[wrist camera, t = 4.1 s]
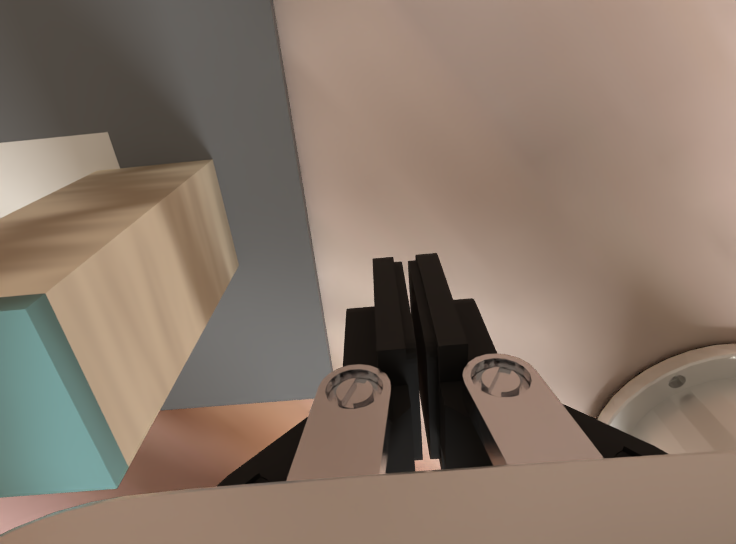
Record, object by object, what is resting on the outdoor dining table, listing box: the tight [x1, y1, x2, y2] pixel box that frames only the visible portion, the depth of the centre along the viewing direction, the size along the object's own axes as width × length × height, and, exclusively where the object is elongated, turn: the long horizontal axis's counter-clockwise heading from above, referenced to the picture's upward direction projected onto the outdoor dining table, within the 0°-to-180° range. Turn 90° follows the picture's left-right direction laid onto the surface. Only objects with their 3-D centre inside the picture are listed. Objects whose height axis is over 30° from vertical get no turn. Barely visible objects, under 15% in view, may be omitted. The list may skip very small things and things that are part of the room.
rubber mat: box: [0, 0, 333, 410], centre depth 21 cm, size 26×22×1 cm
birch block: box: [0, 159, 239, 497], centre depth 15 cm, size 5×5×12 cm
